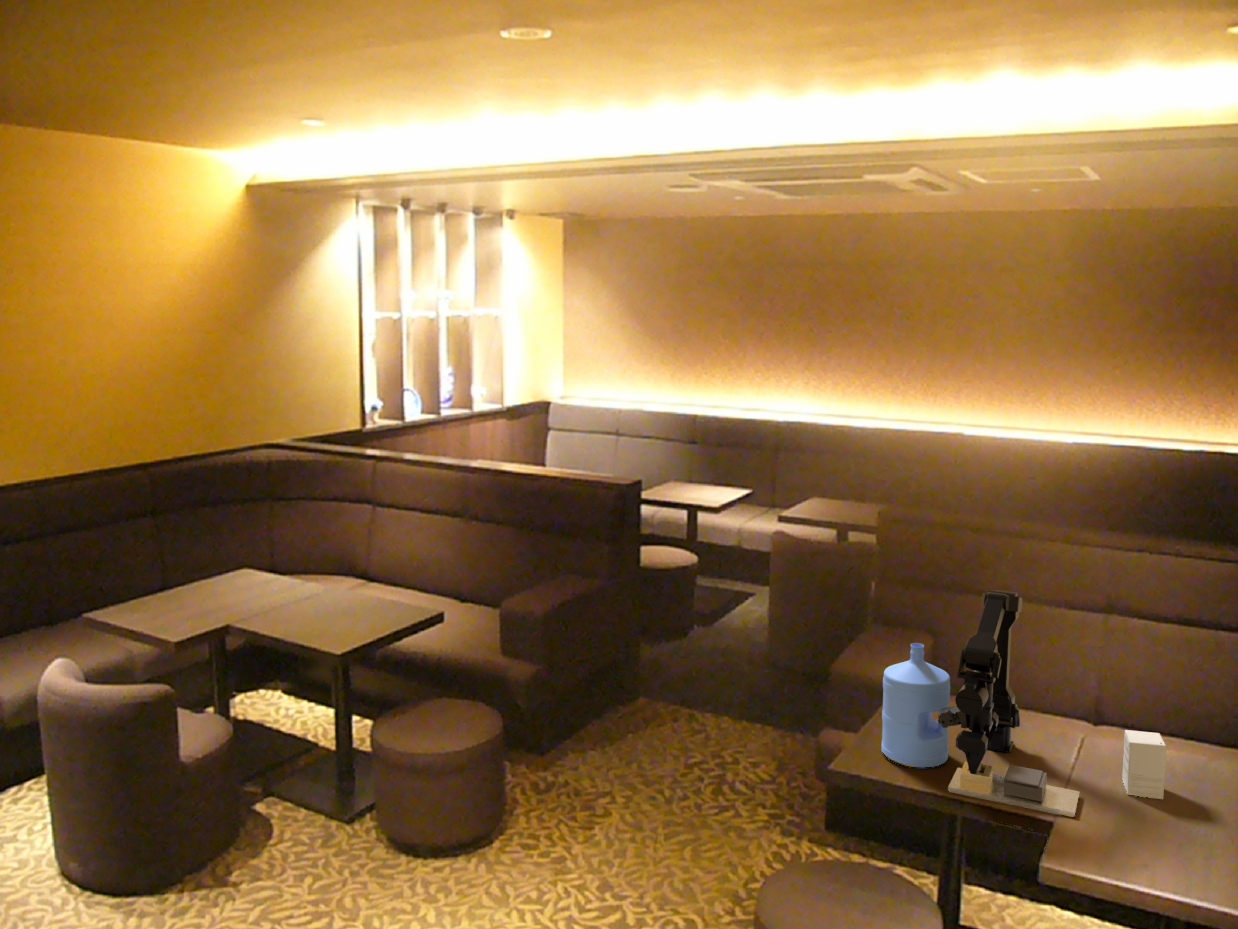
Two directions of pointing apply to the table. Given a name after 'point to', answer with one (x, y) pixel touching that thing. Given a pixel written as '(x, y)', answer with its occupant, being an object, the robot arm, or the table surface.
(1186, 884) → the table surface
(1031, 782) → the box
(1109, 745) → the table surface
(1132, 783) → the supplement box
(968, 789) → the pin plate
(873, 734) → the table surface
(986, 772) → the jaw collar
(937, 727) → the water jug
